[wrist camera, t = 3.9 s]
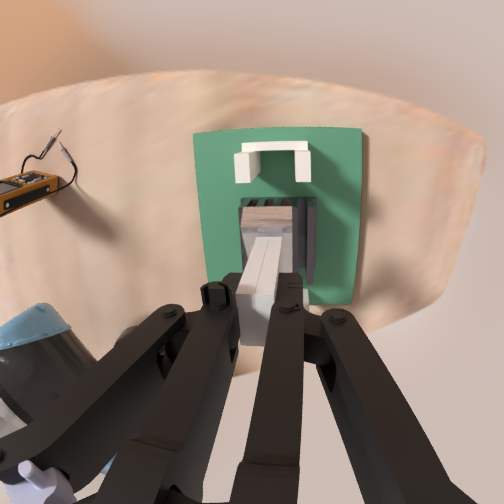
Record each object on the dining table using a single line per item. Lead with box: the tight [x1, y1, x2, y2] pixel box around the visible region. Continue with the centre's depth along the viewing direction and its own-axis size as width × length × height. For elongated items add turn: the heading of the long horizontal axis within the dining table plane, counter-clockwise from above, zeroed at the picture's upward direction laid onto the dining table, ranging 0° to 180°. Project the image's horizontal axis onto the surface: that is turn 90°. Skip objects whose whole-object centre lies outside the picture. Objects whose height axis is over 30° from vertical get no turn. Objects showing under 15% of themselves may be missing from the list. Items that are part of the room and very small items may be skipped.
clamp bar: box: [240, 206, 293, 273], centre depth 24 cm, size 17×4×2 cm
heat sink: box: [238, 197, 317, 285], centre depth 30 cm, size 8×8×5 cm
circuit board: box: [193, 127, 362, 312], centre depth 29 cm, size 21×18×9 cm
